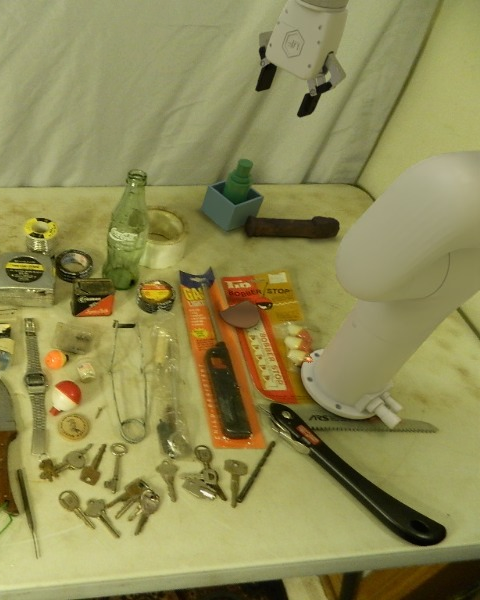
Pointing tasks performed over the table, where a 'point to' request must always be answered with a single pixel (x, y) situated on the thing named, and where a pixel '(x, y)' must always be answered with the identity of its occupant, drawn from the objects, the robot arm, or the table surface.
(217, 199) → the blue open box
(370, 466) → the table surface
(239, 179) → the bottle
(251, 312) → the coaster
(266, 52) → the robot arm
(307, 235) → the hand tool
